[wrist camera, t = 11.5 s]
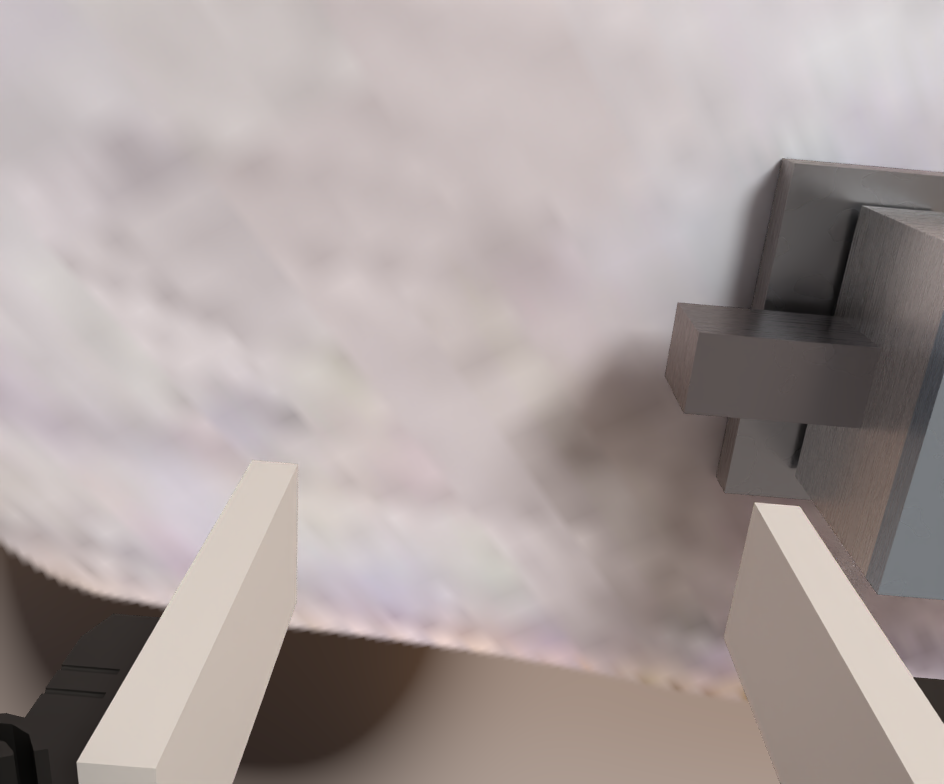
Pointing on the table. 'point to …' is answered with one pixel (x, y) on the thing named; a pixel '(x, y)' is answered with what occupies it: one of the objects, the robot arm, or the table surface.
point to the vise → (810, 290)
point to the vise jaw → (847, 394)
